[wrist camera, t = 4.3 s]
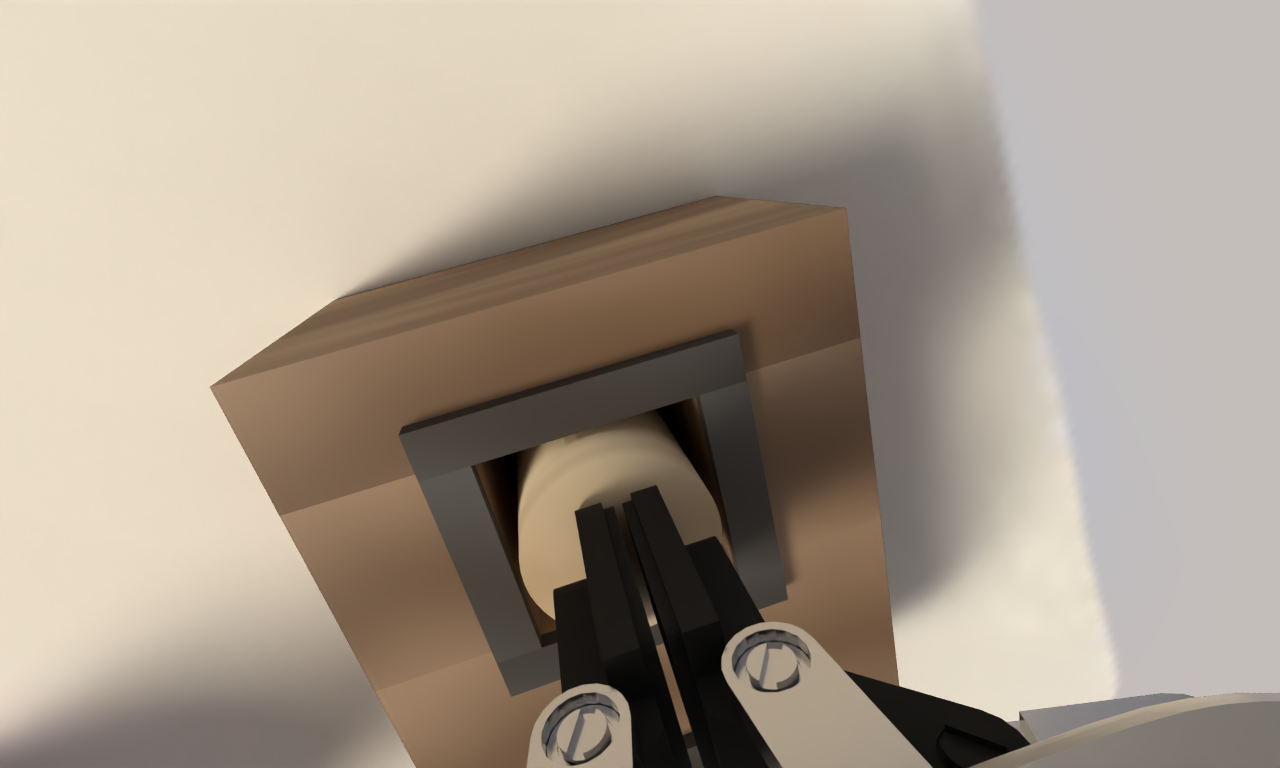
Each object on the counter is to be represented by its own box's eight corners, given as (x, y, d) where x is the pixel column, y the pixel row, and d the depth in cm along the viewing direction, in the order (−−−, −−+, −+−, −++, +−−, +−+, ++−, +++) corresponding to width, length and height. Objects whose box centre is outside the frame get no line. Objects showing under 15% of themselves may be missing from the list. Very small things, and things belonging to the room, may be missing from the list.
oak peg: (497, 368, 18) (490, 495, 11) (626, 331, 18) (700, 429, 11) (537, 482, 19) (553, 660, 12) (656, 445, 20) (738, 596, 13)
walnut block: (334, 300, 18) (198, 394, 10) (715, 196, 19) (856, 209, 11) (535, 760, 25) (546, 1024, 17) (802, 663, 26) (925, 866, 19)
